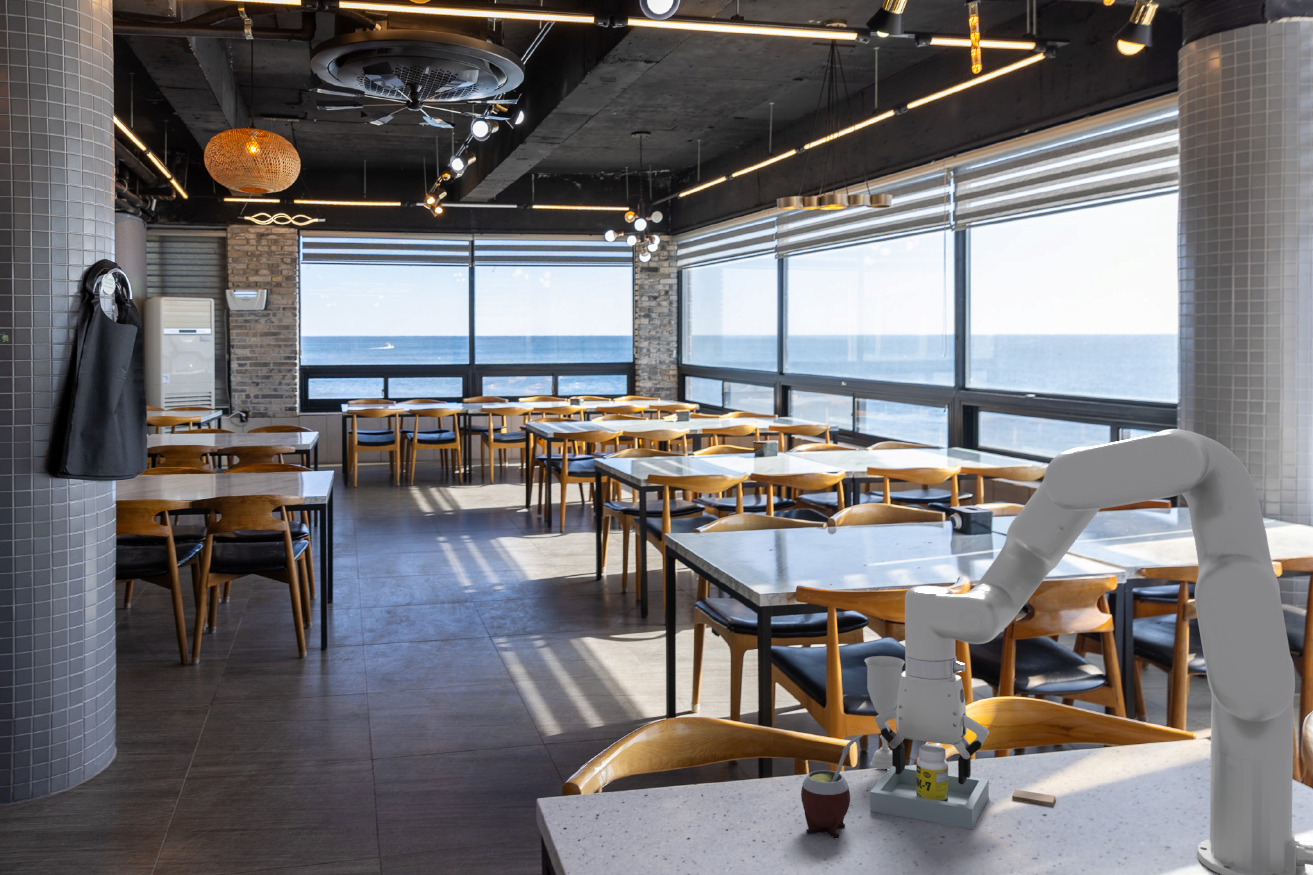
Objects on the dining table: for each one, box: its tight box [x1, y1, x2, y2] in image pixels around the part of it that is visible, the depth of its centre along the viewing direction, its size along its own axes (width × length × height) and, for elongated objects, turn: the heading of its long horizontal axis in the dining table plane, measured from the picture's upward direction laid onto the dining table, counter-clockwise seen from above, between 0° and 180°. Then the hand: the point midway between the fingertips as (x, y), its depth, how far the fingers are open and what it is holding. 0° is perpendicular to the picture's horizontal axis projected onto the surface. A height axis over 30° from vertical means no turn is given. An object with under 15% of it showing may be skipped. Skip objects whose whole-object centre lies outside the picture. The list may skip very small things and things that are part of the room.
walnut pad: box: [1011, 789, 1056, 807], centre depth 161 cm, size 6×3×1 cm, turn 62°
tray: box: [869, 765, 990, 830], centre depth 160 cm, size 15×13×3 cm
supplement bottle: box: [915, 743, 949, 802], centre depth 160 cm, size 5×5×8 cm
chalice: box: [863, 655, 905, 770], centre depth 177 cm, size 7×7×18 cm
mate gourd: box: [800, 732, 865, 840], centre depth 151 cm, size 8×8×15 cm
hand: (931, 776), depth 160 cm, fingers open, 9 cm apart
